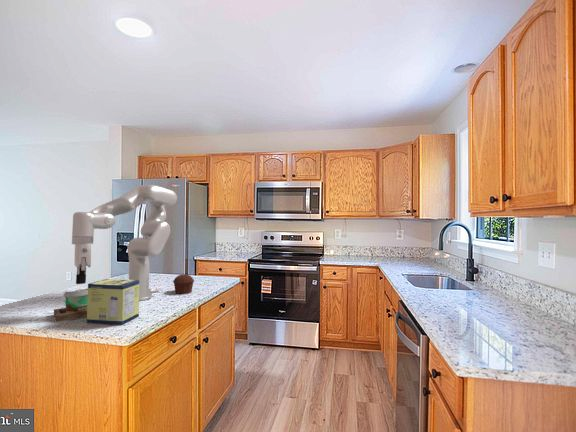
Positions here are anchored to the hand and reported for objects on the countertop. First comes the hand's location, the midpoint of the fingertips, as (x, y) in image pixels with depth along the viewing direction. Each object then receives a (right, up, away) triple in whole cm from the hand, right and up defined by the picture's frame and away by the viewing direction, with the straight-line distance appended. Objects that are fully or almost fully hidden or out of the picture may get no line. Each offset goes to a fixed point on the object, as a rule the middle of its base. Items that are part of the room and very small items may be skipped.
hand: (80, 283), depth 121 cm
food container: (+2, -12, -1) cm, 13 cm away
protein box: (+18, -14, -6) cm, 23 cm away
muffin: (+29, -15, +41) cm, 52 cm away
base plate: (0, -13, 0) cm, 13 cm away
